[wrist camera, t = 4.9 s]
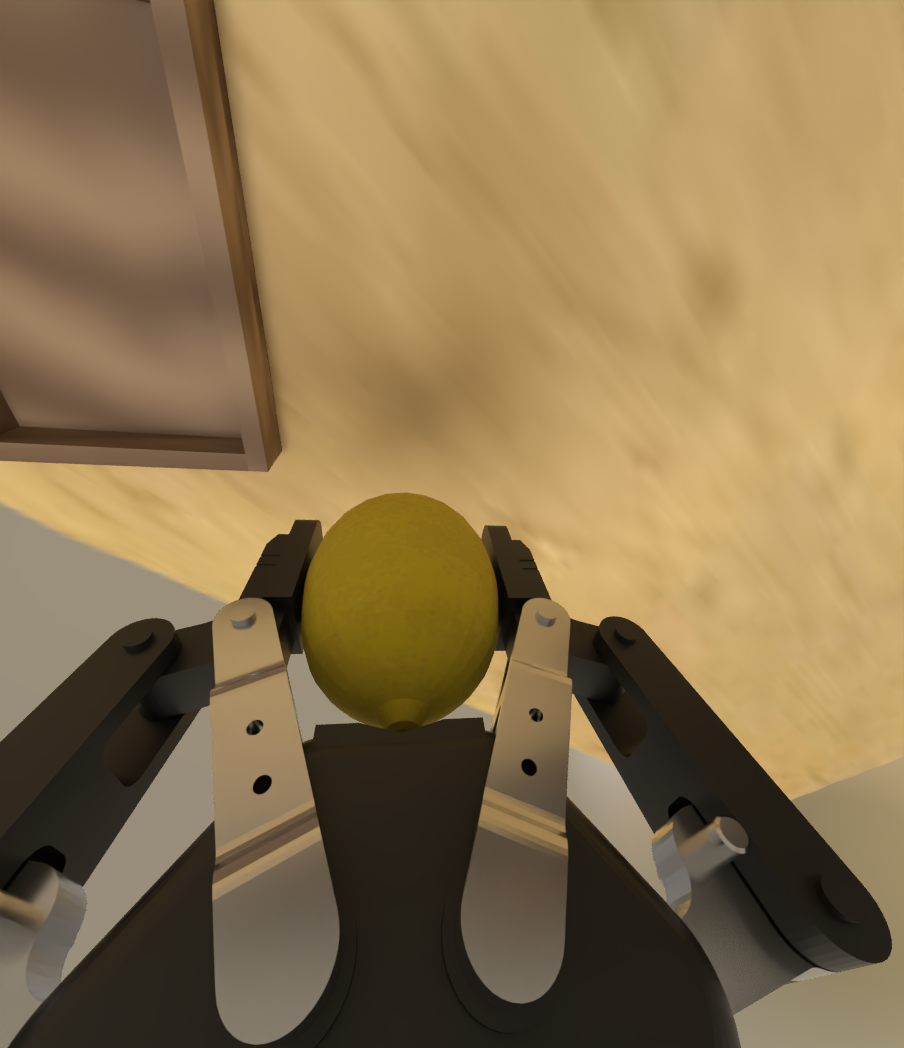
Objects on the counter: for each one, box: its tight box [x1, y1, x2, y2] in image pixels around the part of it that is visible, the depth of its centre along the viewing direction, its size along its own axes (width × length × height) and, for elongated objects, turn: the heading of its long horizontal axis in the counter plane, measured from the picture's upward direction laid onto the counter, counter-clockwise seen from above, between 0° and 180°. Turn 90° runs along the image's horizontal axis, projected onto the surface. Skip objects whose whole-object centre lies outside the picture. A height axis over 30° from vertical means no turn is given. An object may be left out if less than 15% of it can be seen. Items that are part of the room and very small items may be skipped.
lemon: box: [301, 493, 499, 732], centre depth 11 cm, size 6×6×8 cm
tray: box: [0, 0, 282, 472], centre depth 16 cm, size 18×14×3 cm
